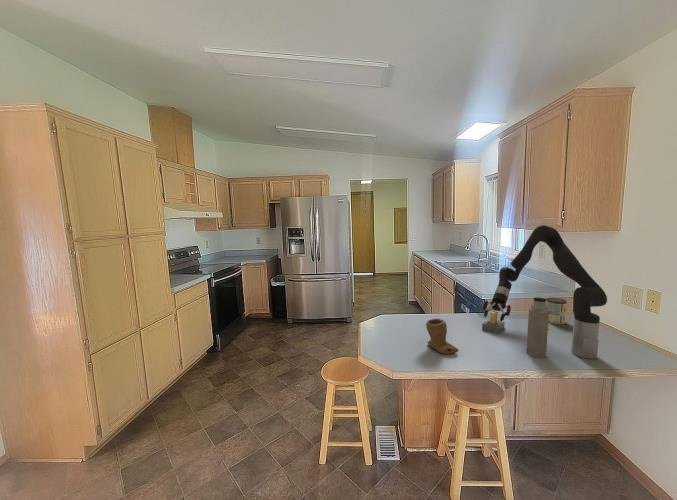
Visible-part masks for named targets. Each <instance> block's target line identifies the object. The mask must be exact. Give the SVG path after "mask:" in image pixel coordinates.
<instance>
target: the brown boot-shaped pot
mask: <svg viewBox="0 0 677 500" xmlns="http://www.w3.org/2000/svg"><path fill="white" fill-rule="evenodd" d="M425 326H426V330H427V333H428V335H429V337H430V340H428V341H427V344H428V345H429V346H430V347H431V348H433V349H434V350H436V351H437V352H439V353H441V354H445V355H452V354H456V353H457V352H458V353H459V349H458V348H457V347H455V346H454V345H453V344H451V343H449V342H448V341H447V333H448V332H447V331H448V329H447V328H448V327H447V323H446V320H444V319H440V318H431V319H429V320H427V321H426V323H425Z"/></svg>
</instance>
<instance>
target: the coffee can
mask: <svg viewBox="0 0 677 500" xmlns="http://www.w3.org/2000/svg"><path fill="white" fill-rule="evenodd" d="M545 299H546V301H545V302H546V305H547V306H548V309H547V310H548V311H549V321H548V323H550V324H554V325H565V324H566V314H567V313H566V311H567V310H566V308H567V300H566V299H564V298H559V297H545Z"/></svg>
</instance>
